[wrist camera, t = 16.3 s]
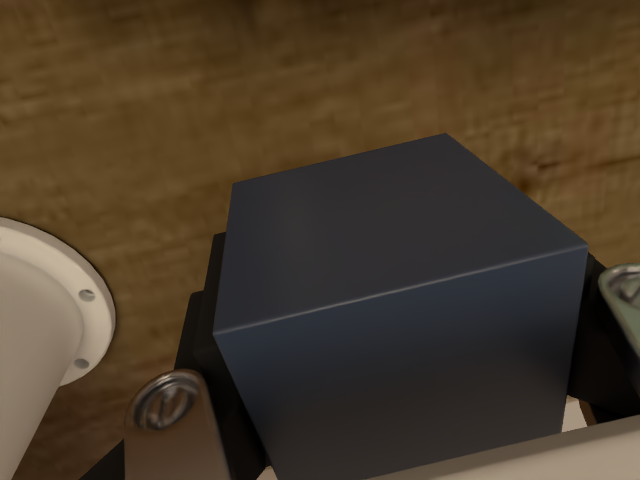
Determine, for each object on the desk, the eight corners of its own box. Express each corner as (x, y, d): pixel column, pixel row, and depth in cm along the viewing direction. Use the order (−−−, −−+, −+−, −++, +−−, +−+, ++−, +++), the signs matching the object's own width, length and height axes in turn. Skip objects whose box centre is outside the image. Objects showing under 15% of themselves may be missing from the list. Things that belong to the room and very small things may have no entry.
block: (284, 340, 12) (297, 527, 8) (232, 182, 10) (210, 333, 6) (454, 300, 12) (557, 465, 8) (446, 131, 10) (591, 243, 6)
